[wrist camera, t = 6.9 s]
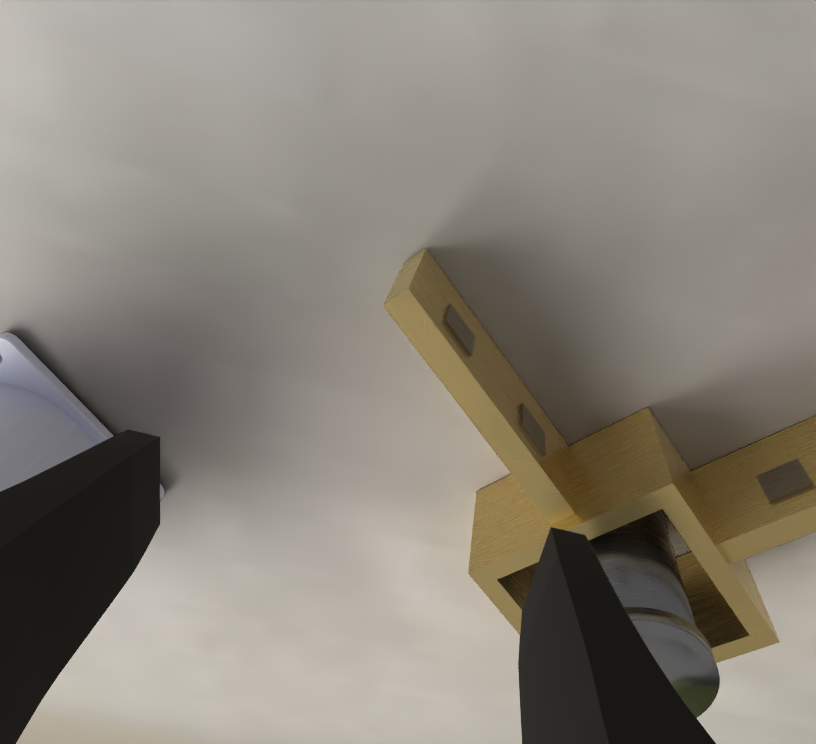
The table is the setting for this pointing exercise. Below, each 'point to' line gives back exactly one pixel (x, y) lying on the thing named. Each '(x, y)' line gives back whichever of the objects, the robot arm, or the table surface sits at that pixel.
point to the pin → (660, 606)
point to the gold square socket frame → (607, 477)
